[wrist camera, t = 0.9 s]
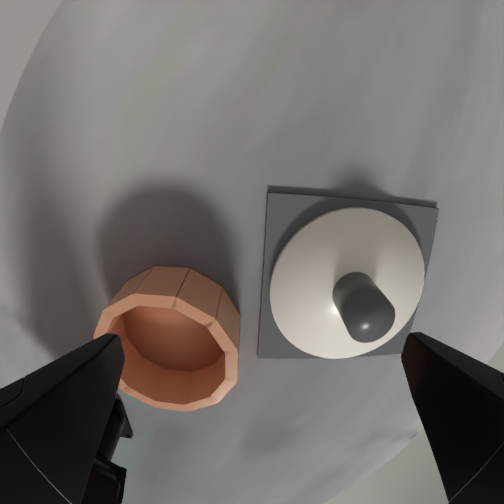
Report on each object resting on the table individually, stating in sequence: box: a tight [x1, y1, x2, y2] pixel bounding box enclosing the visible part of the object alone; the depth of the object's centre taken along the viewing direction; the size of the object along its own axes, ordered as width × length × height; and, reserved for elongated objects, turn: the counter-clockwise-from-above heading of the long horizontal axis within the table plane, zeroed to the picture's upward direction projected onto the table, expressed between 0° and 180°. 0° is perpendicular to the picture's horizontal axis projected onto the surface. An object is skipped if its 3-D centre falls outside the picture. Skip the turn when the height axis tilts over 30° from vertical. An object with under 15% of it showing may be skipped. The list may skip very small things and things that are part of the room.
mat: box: [258, 192, 439, 358], centre depth 22 cm, size 13×13×1 cm
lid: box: [270, 207, 425, 359], centre depth 19 cm, size 12×12×5 cm
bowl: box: [93, 266, 240, 412], centre depth 21 cm, size 10×10×4 cm
